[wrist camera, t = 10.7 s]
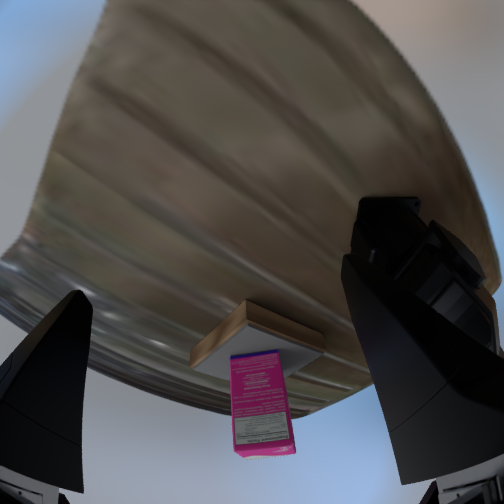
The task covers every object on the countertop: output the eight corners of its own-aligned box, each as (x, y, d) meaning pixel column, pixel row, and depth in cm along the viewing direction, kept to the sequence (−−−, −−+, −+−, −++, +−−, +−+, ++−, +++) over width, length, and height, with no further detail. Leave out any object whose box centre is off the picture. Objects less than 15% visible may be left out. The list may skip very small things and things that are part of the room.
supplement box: (284, 370, 32) (296, 454, 23) (238, 376, 32) (242, 460, 23) (280, 347, 29) (294, 446, 19) (227, 354, 29) (229, 452, 20)
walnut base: (245, 299, 28) (246, 322, 26) (322, 333, 33) (327, 353, 30) (190, 350, 33) (189, 369, 31) (262, 373, 38) (264, 391, 36)
